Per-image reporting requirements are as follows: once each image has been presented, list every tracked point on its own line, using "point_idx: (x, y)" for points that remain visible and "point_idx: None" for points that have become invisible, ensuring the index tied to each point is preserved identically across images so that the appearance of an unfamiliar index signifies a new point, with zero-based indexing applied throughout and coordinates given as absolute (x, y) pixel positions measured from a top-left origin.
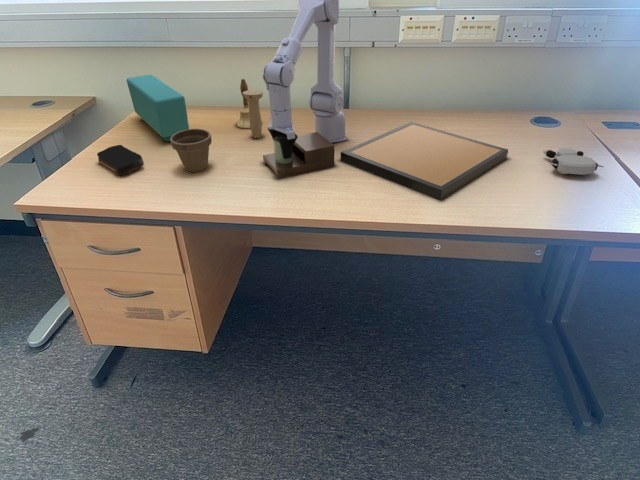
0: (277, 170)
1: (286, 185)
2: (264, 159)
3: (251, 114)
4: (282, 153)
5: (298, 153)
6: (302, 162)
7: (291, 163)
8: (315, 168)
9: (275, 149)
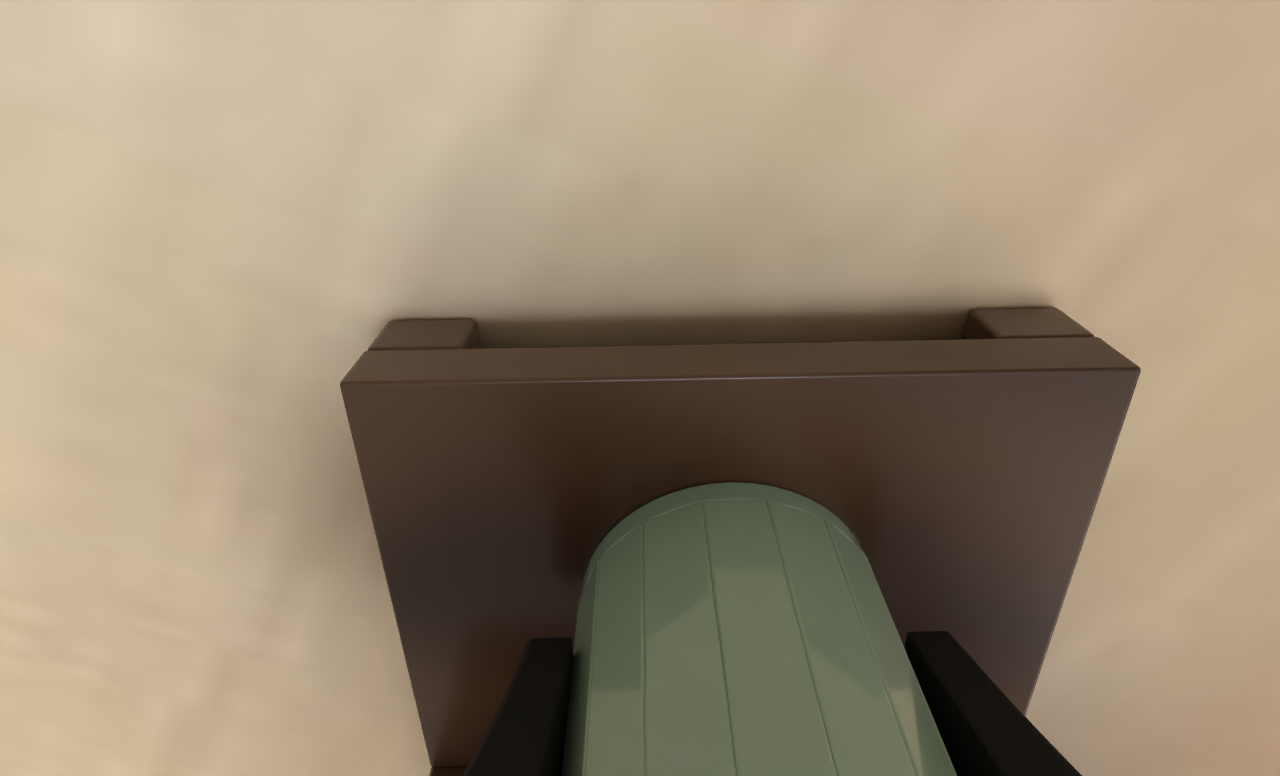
0: (356, 398)
1: (146, 365)
2: (1032, 347)
3: None
4: (533, 718)
5: None
6: None
7: None
8: None
9: (729, 686)
